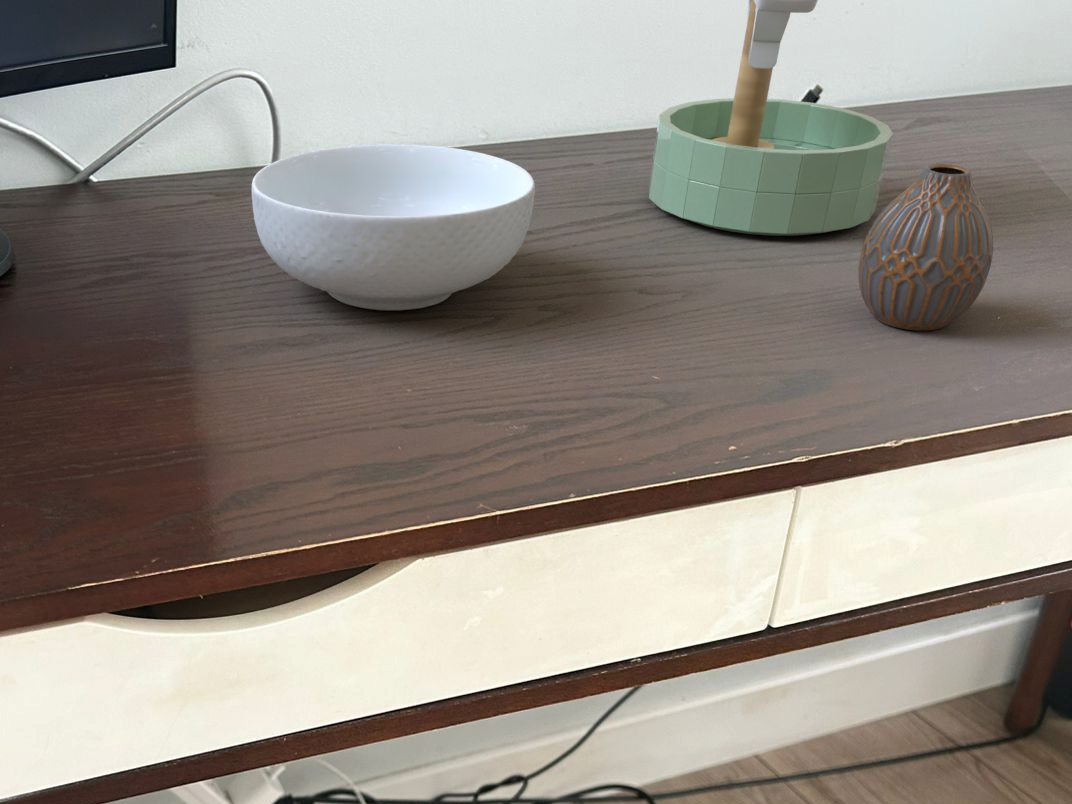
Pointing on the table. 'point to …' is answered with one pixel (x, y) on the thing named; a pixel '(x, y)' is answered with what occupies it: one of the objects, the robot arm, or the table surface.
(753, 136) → the stirring stick
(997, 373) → the table surface
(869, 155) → the green round tub
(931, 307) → the vase
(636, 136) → the table surface
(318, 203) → the cereal bowl
